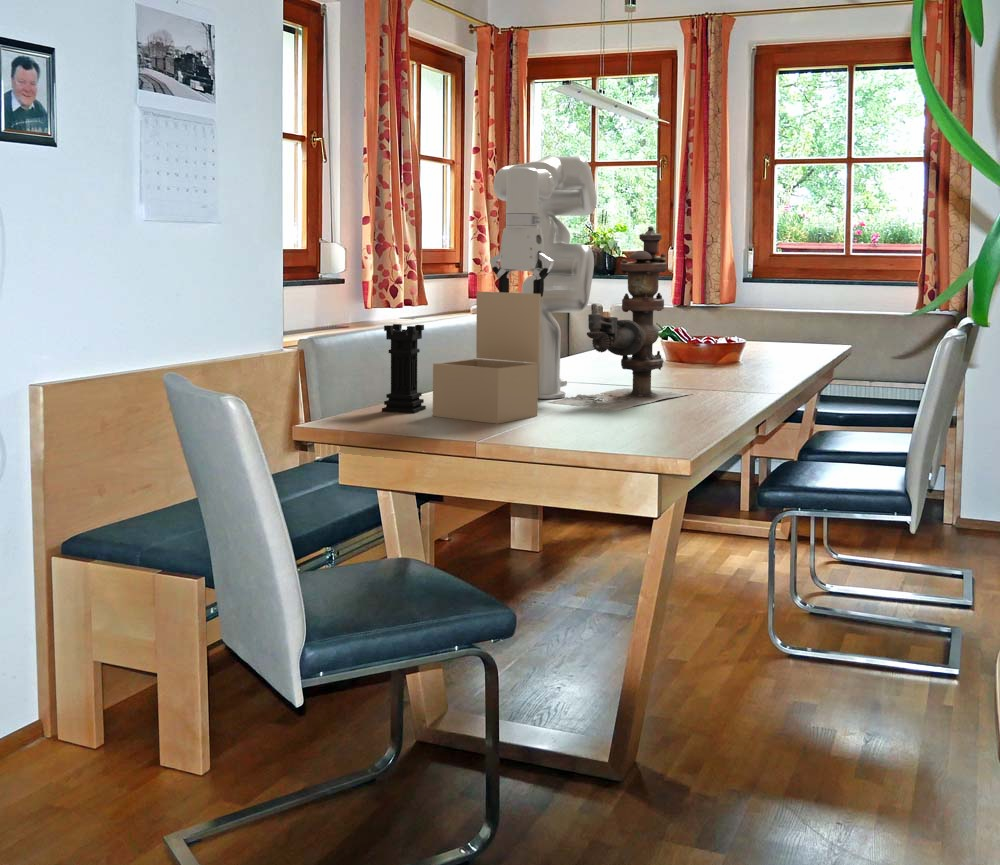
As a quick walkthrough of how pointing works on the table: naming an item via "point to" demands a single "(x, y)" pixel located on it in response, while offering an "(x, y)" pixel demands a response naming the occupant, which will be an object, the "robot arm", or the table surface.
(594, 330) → the valve
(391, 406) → the chess piece
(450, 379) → the carton
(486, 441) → the table surface
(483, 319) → the lid flap
